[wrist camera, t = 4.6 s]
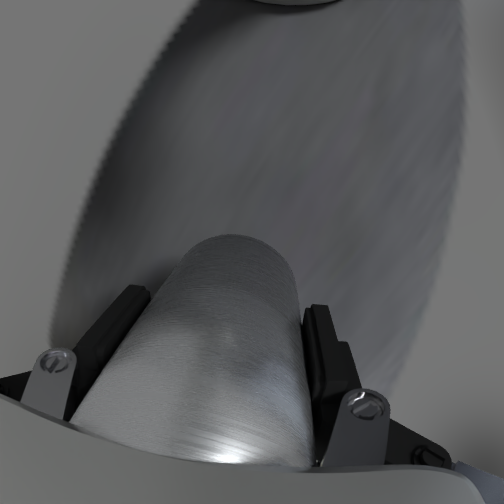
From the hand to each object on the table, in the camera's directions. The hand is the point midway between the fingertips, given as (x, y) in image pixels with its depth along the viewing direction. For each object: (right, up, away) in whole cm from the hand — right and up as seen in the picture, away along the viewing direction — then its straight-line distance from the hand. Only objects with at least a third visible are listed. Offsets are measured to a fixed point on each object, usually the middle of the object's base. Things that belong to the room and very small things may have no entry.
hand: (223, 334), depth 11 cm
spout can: (0, +1, +3) cm, 3 cm away
